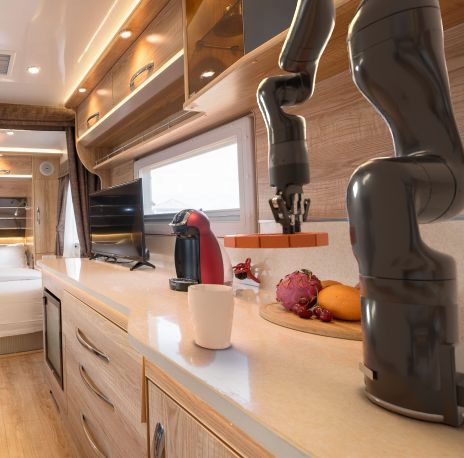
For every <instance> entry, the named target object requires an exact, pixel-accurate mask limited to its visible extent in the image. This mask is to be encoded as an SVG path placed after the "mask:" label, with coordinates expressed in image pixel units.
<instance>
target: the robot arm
mask: <svg viewBox="0 0 464 458" xmlns="http://www.w3.org/2000/svg"><path fill="white" fill-rule="evenodd" d="M336 12H337V11H336V5H335V0H297V4H296V7H295V10H294V14H293V18H292V21H291V24H290V27H289V30H288V32H287V35H286V38H285V40H284V42H283V45H282V47H281V51H280V53H279V56H278V62H277V63H278V66H279V68H280V69H281V70H283V71H284V72H287V73H286V74H285V73H284V74H278V75H277V74H276V75H271V76H267V77H265V78H263V79H262V81H260V83H259V85H258V86H257V90H256V101H257V105H258V108H259V110H260V112H261V114H262V117H263V120H264V122H265V126H266V130H267V140H268V141H267V143H268V154H267V164H268V165H267V168H268V185H269V187H270V188H271V189H275V193H274V197H273V198H269V199H268V205H269V207H270V210H271V214H272V217H273V219H274V221H275V224H279V225H280V226H281V230H282V233H283V235H292V234H295V232H302V225H304V223H306V222H307V221H308V215H309V210H310V206H311V198H309V197H308V198H305V192H304V189H303V186H307V185H309V184H310V183H311V171H310V153H309V152H310V151H309V148H308V142H307V125H306V118H305V117H304V116H302V115H298V114H292V113H287V112H285V111H284V109H285V108H286V109H287V108H295V107H297V108H298V107H300V106H302V105H304V104H306V103H307V102H308V101H309V100H310V99H311V98H312V96H313V94H314V90H315V82H316V75H317V71H318V66H319V61H320V58H321V56H322V54H323V52H324V50H325V48H326V46H327V45H328V42H329V40H330V38H331V36H332V33H333V30H334V28H335V24H336V18H337V17H336V16H337V15H336ZM444 42H445V41H444V30H443V22H442V13H441V7H440V3H439V0H361V1H360V3H359V5H358V7H357V8H356V10H355V12H354V14H353V15H352V17H351V20H350V22H349V25H348V26H347V31H346V48H347V56H348V65H349V72H350V77H351V79H352V82H353V83H354V84H355V86H356V87H357V89H358V91H359V92H360V93H361V94H362V95H363V97H364V98H365V99H366V100H367V102H368V103H370V105H371V106H372V107H373V109H375V111H376V112H377V113H378V114H379V115H380V117H381V119H383V121H384V123H385V124H386V126H387V128H388V130H389V132H390V136H391V139H392V144H393V150H394V156H382V157H376V158H371V159H368V160H366V161H364V162H362V163H360V164H359V165H357V166H356V168H355V169H354V170H353V171H352V173H351V174H350V176H349V178H348V179H347V180H348V181H347V184H346V188H345V189H346V190H345V207H346V216H347V217H346V218H347V224H348V232H349V241H350V248H351V252H352V254H353V256H354V258H355V260H356V262H357V265H358V267H357V268H358V281H359V285H358V286H359V302H360V318H361V319H360V322H361V324H360V325H361V338H362V339H361V341H362V360H363V363H362V362H360V361H358V370H359V371H360V372H362V373H363V383H364V384H363V394H364V395H365V397H366V398H367V399H368V400H370V401H371V402H373V403H374V404H376V405H378V406H380V407H382V408H384V409H386V410H388V411H391V412H393V413H397V414H400V415H403V416H406V417H408V418H409V417H410V418H414V419H418V420H423V421H428V422H435V423H441V424H445V425H450V426H453V427H457V428H458V427H460V426H461V425H462V423H463V422H464V336H463V335H462V334H461V332H462V331H461V330H462V329H461V314H460V295H459V279H458V277H459V274H458V262H457V260H456V258H455V257H454V256H453V255H452V254H450V253H447V252H444V251H441V250H438V249H436V248H434V247H431V245H428V243H426V242H425V241H424V239H423V238H422V234H421V231H420V225H429V224H430V225H431V224H439V223H445V222H448V221H451V220H453V219H455V218H457V217H458V216H459V215H461V214H462V213H463V211H464V142H463V139H462V135H461V131H460V128H459V124H458V121H457V118H456V114H455V110H454V104H453V98H452V92H451V85H450V81H449V80H450V79H449V73H448V68H447V62H446V55H445V44H444Z"/></svg>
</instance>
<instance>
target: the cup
mask: <svg viewBox="0 0 464 458" xmlns="http://www.w3.org/2000/svg"><path fill="white" fill-rule="evenodd" d="M187 304H188V310H189V315H190V320H191V325H192V330H193V337H194V341H195V344H196V345H197V346H199V347H202V348H204V349H208V350H224V349H228V348H229V347H230V346H231V339H232V331H233V320H234V311H235V297H234V288H233V287H232V286H229V285H225V284H215V283H198V284H191V285H188V287H187Z"/></svg>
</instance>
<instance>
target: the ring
mask: <svg viewBox="0 0 464 458" xmlns="http://www.w3.org/2000/svg"><path fill="white" fill-rule="evenodd" d="M327 246H329V233H328V232H325V231H308V232H307V231H301V232H295V234H292V235H283V232H267V233H266V232H265V233H264V232H263V233H242V234H241V233H240V234H227V235H223V247H224V248H230V249H296V248H297V249H298V248H299V249H302V248H315V247H316V248H319V247H327Z"/></svg>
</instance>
